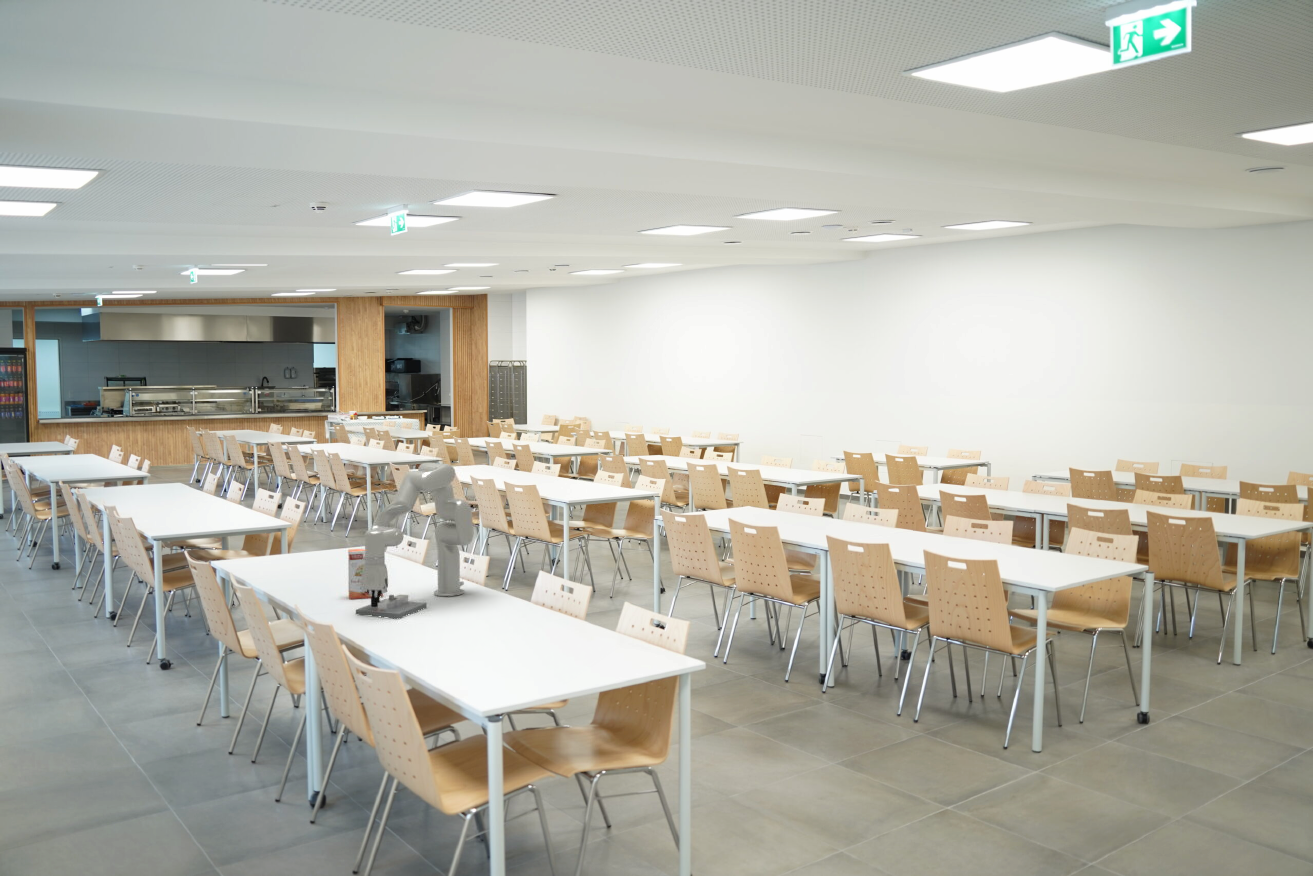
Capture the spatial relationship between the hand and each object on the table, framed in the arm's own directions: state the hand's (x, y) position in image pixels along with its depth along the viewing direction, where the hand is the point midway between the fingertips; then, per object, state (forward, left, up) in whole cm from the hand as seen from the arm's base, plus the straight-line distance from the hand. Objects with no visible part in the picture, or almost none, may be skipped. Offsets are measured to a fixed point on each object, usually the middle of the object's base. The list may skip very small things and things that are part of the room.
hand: (375, 606), depth 394 cm
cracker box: (-25, -22, -4) cm, 33 cm away
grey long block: (-7, +4, -1) cm, 8 cm away
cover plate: (-7, +3, -3) cm, 8 cm away
